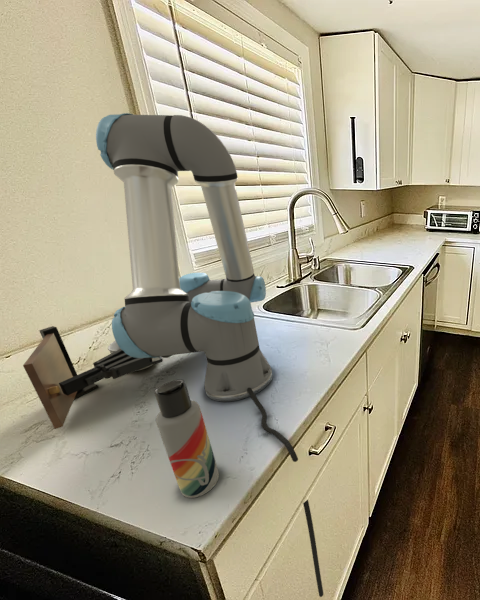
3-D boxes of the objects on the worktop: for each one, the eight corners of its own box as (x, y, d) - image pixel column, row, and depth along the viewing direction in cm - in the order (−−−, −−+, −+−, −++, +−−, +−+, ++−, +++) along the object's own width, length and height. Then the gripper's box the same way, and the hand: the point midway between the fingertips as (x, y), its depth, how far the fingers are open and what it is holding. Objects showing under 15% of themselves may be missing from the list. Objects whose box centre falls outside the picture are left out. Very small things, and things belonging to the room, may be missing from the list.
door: (71, 390, 77) (46, 334, 72) (85, 387, 79) (61, 331, 73) (54, 429, 66) (22, 365, 60) (70, 424, 67) (40, 361, 61)
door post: (56, 397, 77) (25, 333, 71) (86, 383, 82) (60, 322, 76) (68, 402, 75) (38, 337, 69) (98, 387, 81) (73, 325, 74)
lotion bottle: (193, 504, 52) (158, 401, 44) (173, 489, 54) (137, 389, 47) (226, 477, 56) (199, 380, 49) (206, 464, 59) (178, 370, 52)
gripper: (192, 356, 88) (87, 411, 68) (161, 347, 93) (53, 396, 72) (186, 331, 85) (73, 381, 65) (153, 323, 90) (39, 367, 70)
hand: (63, 389), depth 69 cm, fingers closed
